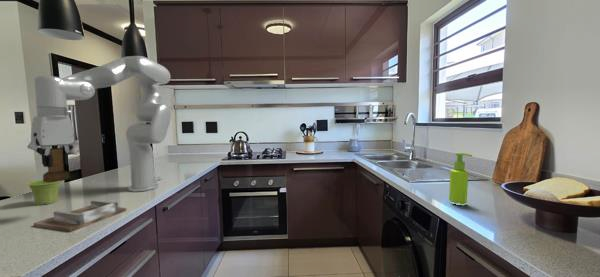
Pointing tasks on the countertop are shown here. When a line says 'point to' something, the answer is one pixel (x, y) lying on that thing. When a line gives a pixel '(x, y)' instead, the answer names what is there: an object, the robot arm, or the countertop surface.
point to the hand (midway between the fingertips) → (55, 165)
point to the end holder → (81, 216)
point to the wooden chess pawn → (56, 166)
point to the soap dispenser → (459, 181)
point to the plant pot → (44, 191)
